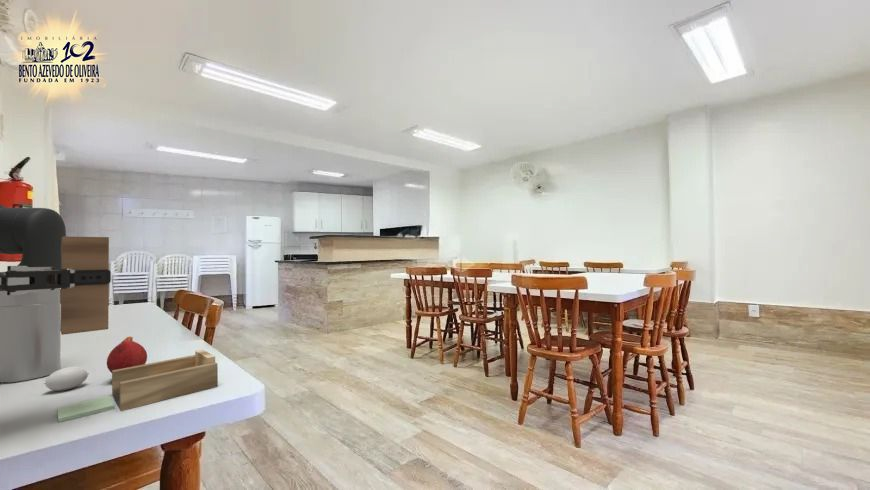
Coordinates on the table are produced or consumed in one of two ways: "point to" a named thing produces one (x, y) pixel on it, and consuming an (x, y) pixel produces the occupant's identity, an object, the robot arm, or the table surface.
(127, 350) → the onion
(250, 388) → the table surface
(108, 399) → the pad
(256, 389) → the table surface
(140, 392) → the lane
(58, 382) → the egg
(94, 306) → the post
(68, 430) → the table surface
